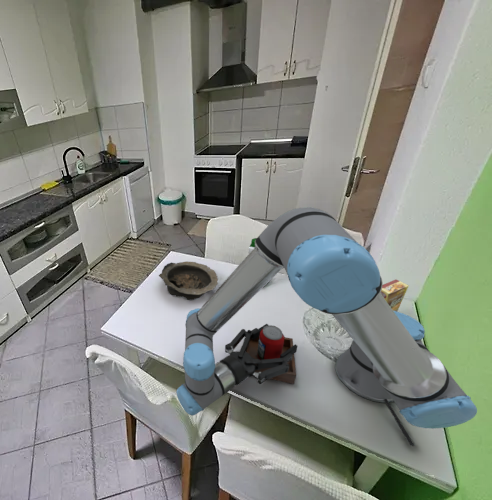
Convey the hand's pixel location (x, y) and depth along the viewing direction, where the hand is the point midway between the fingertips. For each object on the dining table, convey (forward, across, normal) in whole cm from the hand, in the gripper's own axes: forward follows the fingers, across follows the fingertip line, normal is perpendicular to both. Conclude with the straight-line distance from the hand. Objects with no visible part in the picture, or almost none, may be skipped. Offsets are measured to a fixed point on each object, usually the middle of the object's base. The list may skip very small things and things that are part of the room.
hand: (280, 337), depth 86 cm
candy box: (+38, +10, -8) cm, 40 cm away
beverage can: (-5, 0, -7) cm, 8 cm away
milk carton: (+24, -29, -8) cm, 39 cm away
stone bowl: (-2, -44, -8) cm, 45 cm away
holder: (-4, 0, -8) cm, 9 cm away
